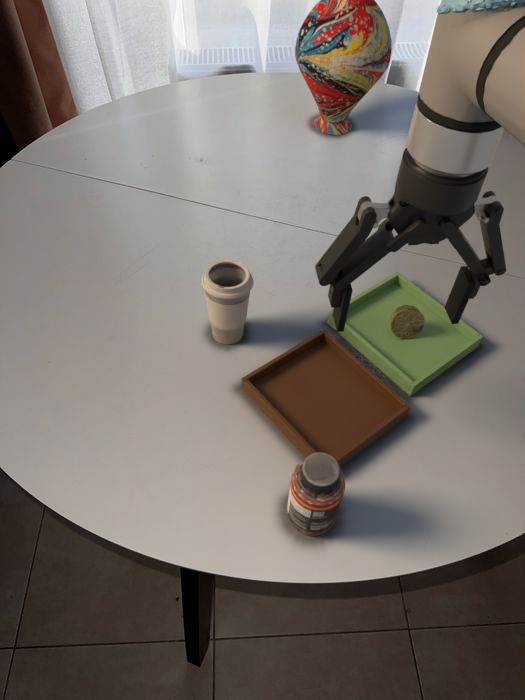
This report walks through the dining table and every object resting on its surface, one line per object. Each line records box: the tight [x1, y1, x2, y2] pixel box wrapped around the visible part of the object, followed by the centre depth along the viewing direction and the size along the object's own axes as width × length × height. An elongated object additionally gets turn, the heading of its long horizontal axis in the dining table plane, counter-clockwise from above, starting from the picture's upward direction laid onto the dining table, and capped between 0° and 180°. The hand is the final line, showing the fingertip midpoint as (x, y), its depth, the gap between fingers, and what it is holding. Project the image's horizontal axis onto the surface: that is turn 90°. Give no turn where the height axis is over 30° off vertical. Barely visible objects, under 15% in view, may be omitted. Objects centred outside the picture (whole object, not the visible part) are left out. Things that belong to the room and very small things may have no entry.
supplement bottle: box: [286, 452, 346, 536], centre depth 65 cm, size 6×6×11 cm
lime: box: [390, 305, 424, 339], centre depth 86 cm, size 4×5×5 cm
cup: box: [200, 258, 255, 345], centre depth 82 cm, size 7×7×12 cm
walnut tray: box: [240, 328, 412, 468], centre depth 79 cm, size 17×15×2 cm
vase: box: [294, 0, 393, 136], centre depth 115 cm, size 19×19×30 cm
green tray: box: [326, 271, 484, 397], centre depth 87 cm, size 17×15×2 cm
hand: (395, 319), depth 67 cm, fingers open, 13 cm apart
